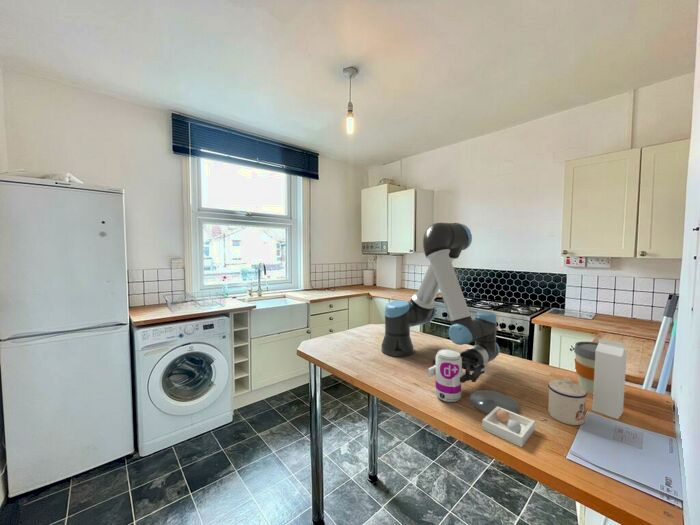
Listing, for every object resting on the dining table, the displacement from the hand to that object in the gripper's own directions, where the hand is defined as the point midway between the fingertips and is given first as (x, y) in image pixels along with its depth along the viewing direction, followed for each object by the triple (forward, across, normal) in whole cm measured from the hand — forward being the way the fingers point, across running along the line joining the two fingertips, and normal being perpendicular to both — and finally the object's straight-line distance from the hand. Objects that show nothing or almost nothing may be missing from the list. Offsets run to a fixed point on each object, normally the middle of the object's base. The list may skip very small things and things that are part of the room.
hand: (440, 377), depth 94 cm
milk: (-33, -37, -8) cm, 50 cm away
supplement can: (-5, 0, -8) cm, 9 cm away
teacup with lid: (-22, -29, -8) cm, 37 cm away
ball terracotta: (-3, -18, -6) cm, 19 cm away
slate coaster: (-12, -12, -8) cm, 19 cm away
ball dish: (-2, -20, -8) cm, 22 cm away
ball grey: (0, -22, -6) cm, 23 cm away
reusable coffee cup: (-47, -32, -8) cm, 57 cm away
